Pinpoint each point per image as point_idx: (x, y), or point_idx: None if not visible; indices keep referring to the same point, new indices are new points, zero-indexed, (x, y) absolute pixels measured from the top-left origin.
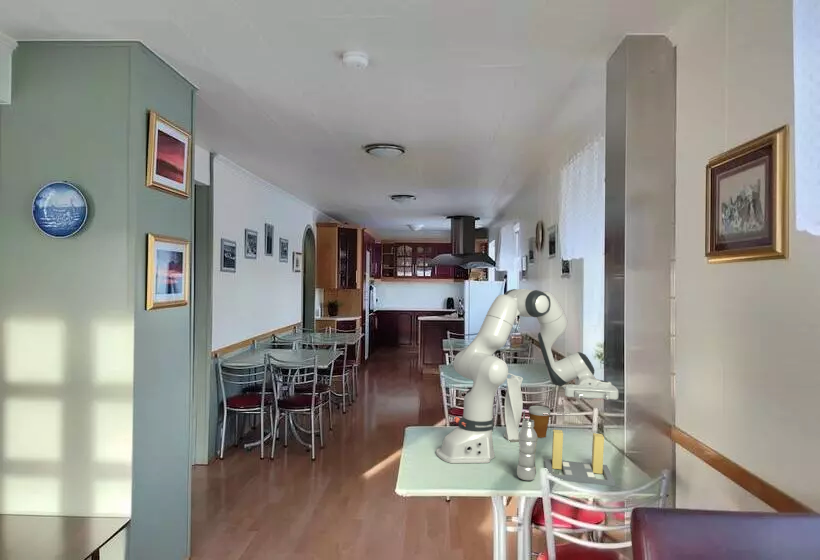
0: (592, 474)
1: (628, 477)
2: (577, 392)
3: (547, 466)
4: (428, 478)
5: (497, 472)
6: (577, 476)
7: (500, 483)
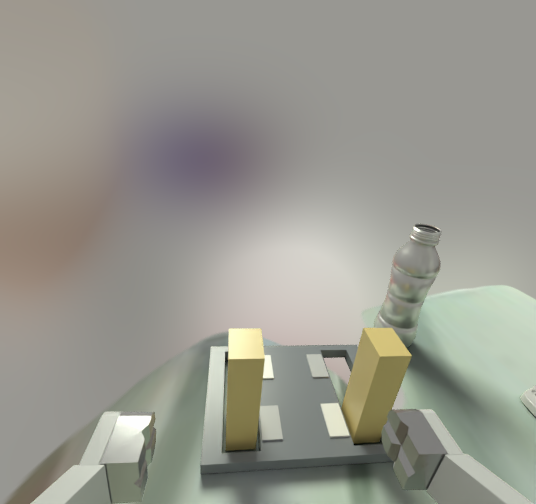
0: None
1: None
2: (482, 465)
3: None
4: (516, 308)
5: (456, 354)
6: (294, 351)
7: None
